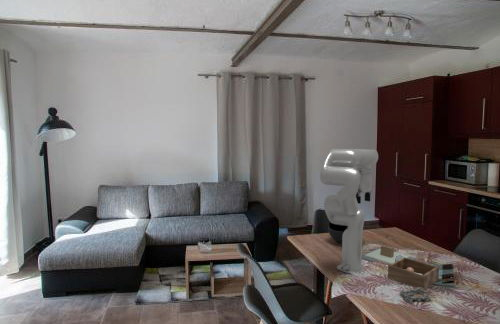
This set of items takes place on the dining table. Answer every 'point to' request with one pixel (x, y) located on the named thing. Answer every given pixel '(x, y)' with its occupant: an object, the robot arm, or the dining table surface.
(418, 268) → the box
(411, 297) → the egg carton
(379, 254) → the lid
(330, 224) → the coal bowl
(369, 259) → the mat
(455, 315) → the dining table surface
